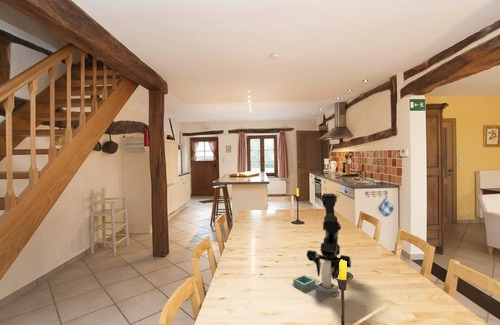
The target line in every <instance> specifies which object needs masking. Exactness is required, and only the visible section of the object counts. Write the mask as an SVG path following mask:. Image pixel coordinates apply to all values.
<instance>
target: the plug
mask: <svg viewBox="0 0 500 325" xmlns="http://www.w3.org/2000/svg"><path fill="white" fill-rule="evenodd" d="M320 262H321V282H322V287H323V288H325V289H327V290H328V289H330V288H331V283H332V267H331V261H330V260H323V259H321V260H320Z"/></svg>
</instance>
